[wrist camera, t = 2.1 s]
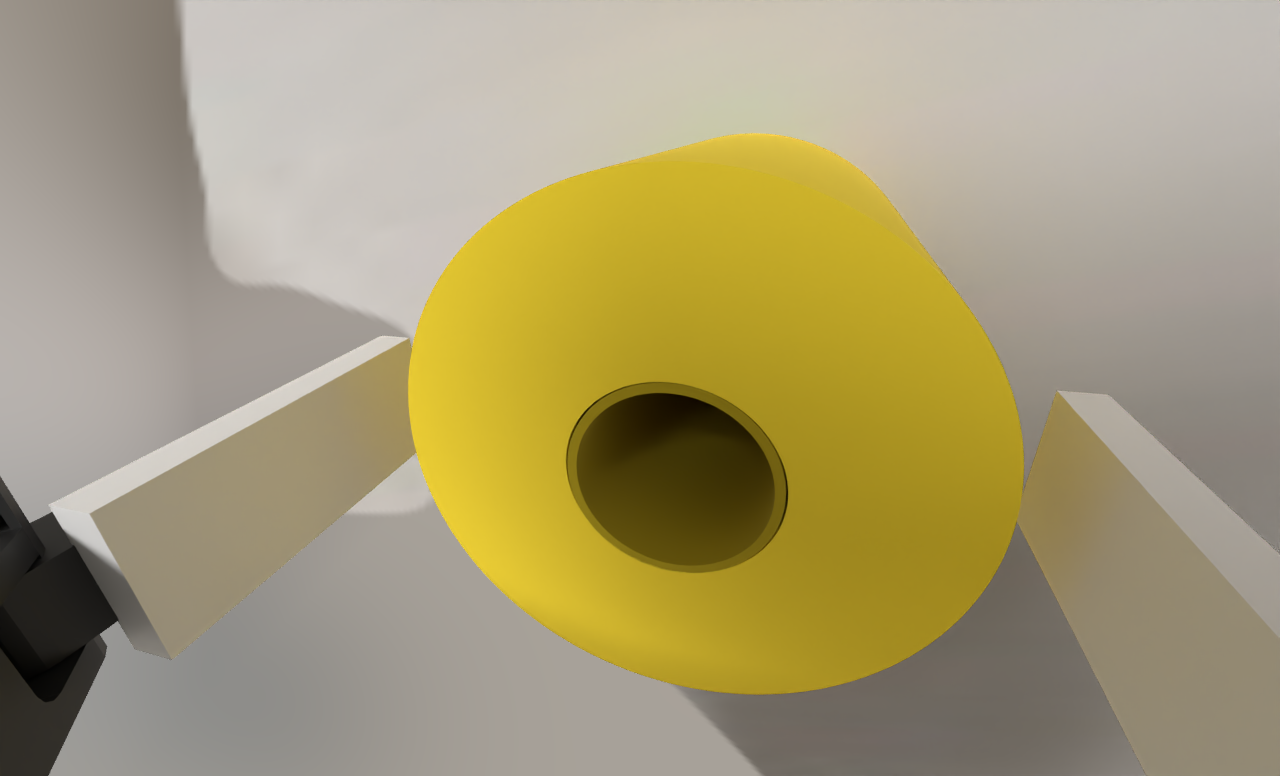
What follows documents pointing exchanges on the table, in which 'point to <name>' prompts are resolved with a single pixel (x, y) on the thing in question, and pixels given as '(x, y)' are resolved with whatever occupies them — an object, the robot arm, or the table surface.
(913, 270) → the tape roll
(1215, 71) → the table surface
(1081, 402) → the robot arm
